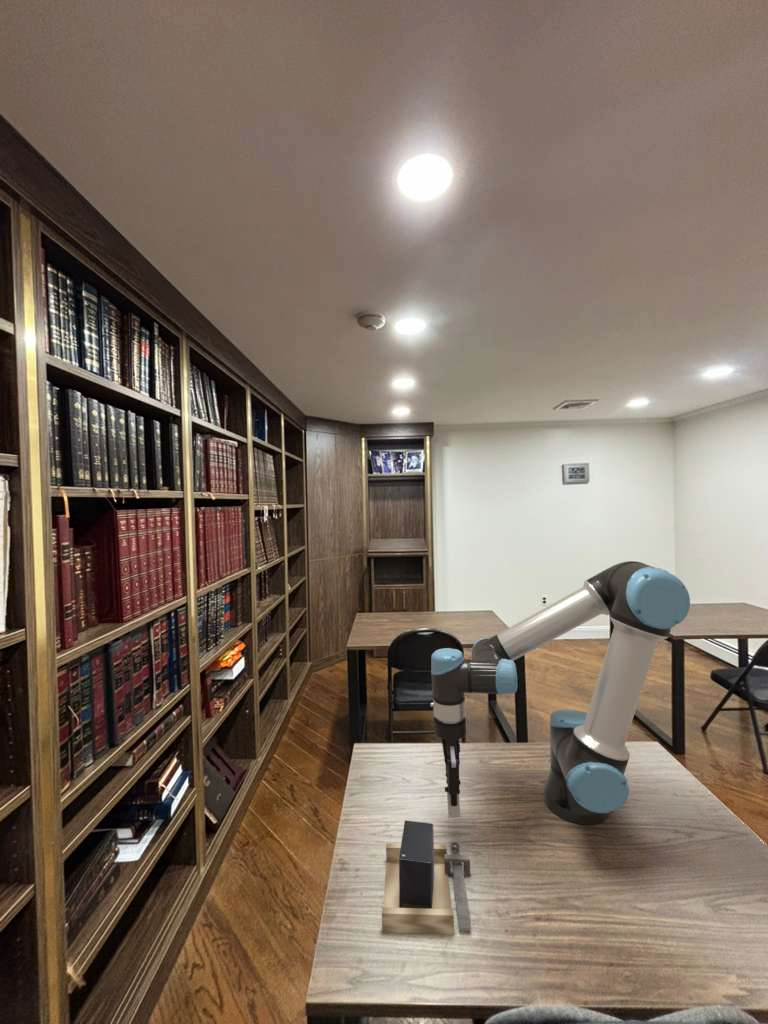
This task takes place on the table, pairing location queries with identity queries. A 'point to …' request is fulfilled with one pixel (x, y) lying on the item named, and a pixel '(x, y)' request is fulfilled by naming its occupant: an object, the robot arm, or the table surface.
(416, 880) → the small box
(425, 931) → the cradle
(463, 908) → the lock bolt
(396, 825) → the table surface
